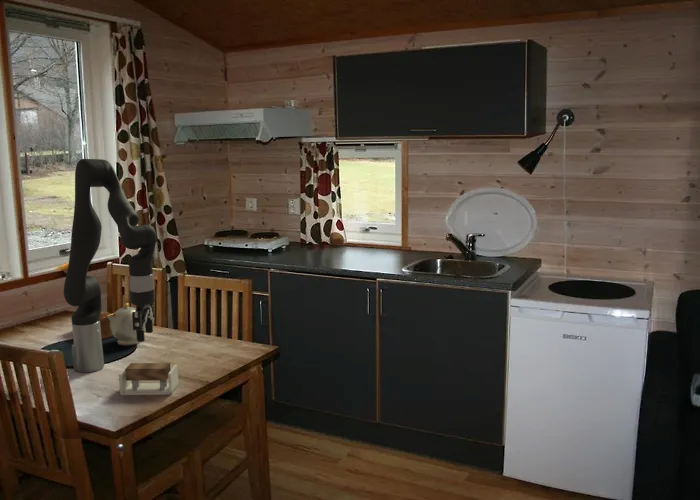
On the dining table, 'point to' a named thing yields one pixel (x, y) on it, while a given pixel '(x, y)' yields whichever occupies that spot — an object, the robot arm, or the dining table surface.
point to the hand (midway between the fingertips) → (145, 336)
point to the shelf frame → (149, 385)
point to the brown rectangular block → (147, 371)
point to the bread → (105, 325)
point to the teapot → (124, 326)
